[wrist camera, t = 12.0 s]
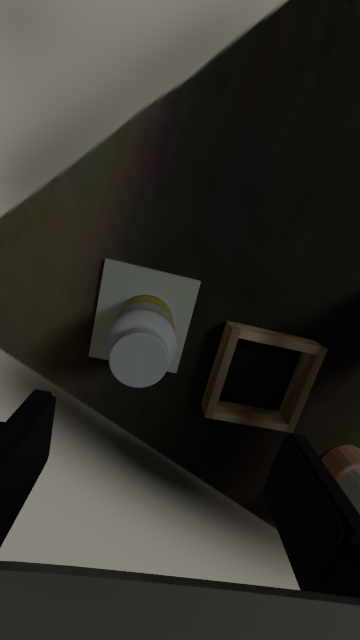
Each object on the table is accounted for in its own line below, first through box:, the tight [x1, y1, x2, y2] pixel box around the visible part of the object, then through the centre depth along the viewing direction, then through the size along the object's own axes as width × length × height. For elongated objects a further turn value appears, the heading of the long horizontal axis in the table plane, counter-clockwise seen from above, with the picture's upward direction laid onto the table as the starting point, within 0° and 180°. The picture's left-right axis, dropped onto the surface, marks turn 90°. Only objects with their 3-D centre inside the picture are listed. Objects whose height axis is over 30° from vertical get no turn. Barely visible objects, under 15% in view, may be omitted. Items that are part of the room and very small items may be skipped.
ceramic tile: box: [89, 258, 201, 373], centre depth 32 cm, size 11×12×1 cm
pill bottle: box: [105, 295, 177, 388], centre depth 27 cm, size 6×6×12 cm
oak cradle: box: [201, 321, 328, 433], centre depth 34 cm, size 12×12×3 cm
